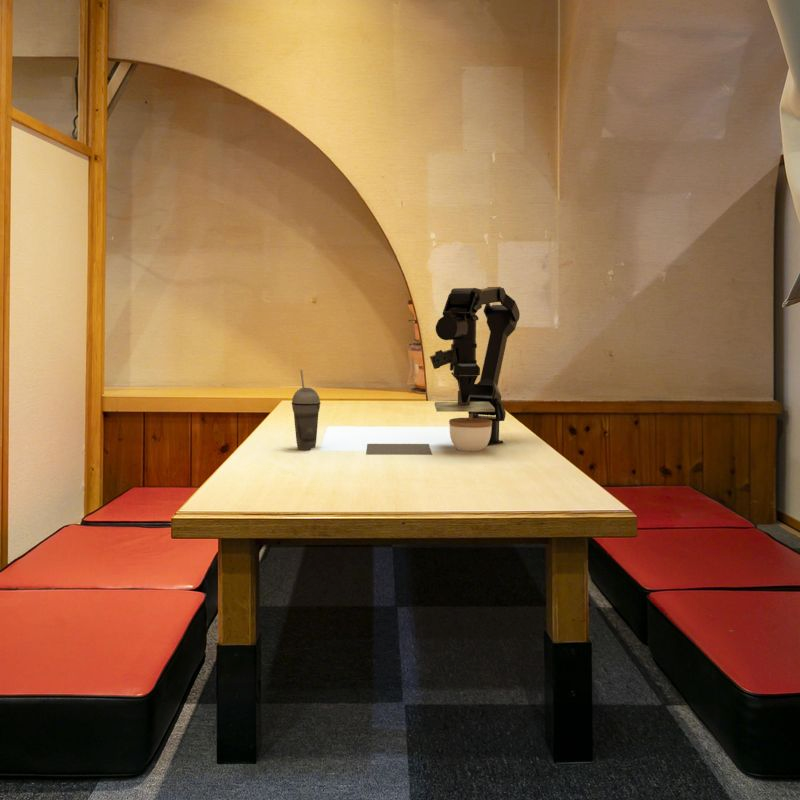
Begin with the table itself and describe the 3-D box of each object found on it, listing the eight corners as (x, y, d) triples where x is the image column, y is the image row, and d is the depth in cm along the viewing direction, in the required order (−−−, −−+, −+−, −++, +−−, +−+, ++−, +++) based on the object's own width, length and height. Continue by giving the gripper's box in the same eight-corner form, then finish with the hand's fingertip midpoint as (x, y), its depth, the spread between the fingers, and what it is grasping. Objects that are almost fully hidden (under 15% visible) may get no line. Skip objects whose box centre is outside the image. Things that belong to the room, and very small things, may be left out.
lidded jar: (463, 455, 185) (464, 417, 184) (440, 449, 194) (441, 412, 193) (500, 452, 190) (500, 415, 189) (476, 446, 199) (476, 410, 198)
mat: (428, 445, 199) (428, 443, 199) (432, 456, 184) (432, 454, 184) (367, 445, 199) (367, 443, 199) (365, 456, 183) (365, 454, 183)
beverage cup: (315, 451, 189) (315, 371, 187) (287, 450, 190) (287, 370, 188) (324, 447, 196) (324, 369, 194) (297, 445, 197) (296, 368, 195)
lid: (488, 404, 198) (488, 388, 197) (494, 411, 184) (495, 393, 183) (434, 404, 198) (434, 388, 197) (436, 411, 184) (436, 393, 183)
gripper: (430, 337, 198) (430, 397, 200) (433, 340, 180) (432, 406, 181) (473, 337, 198) (472, 397, 200) (480, 340, 180) (479, 406, 181)
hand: (463, 401), depth 191 cm, fingers closed on lid, 3 cm apart
